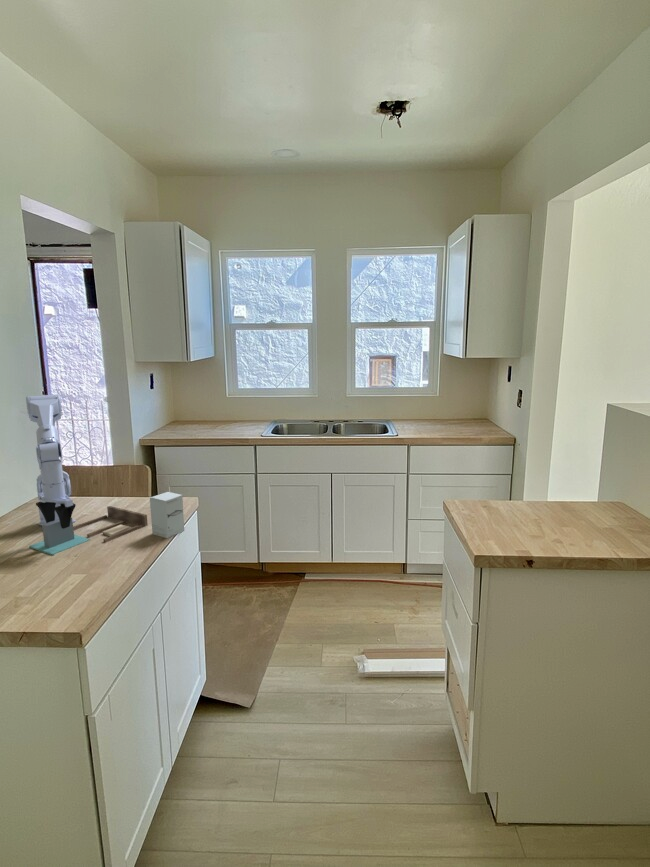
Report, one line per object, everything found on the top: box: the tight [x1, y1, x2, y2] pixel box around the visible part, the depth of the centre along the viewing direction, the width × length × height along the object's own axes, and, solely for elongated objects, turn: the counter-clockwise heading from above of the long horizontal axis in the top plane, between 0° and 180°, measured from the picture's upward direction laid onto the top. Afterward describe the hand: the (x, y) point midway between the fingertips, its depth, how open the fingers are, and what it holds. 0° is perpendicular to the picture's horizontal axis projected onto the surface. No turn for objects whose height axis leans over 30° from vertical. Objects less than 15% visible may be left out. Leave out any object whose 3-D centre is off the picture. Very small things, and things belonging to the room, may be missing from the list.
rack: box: [73, 505, 149, 543], centre depth 159 cm, size 19×16×4 cm
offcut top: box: [102, 524, 131, 537], centre depth 156 cm, size 4×7×1 cm, turn 152°
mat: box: [28, 534, 91, 556], centre depth 148 cm, size 12×12×1 cm
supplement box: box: [149, 491, 185, 539], centre depth 154 cm, size 7×7×13 cm
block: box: [41, 516, 75, 548], centre depth 147 cm, size 2×8×7 cm, turn 151°
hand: (58, 525), depth 147 cm, fingers open, 7 cm apart
